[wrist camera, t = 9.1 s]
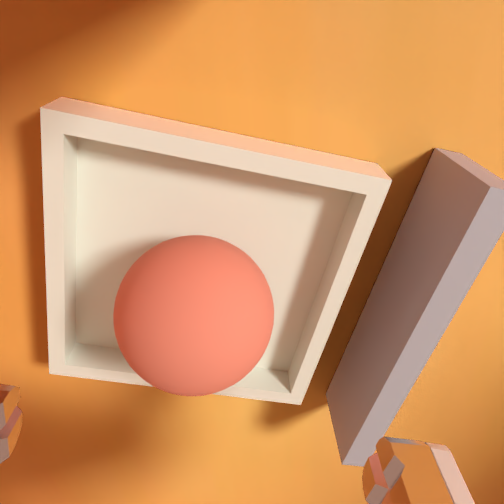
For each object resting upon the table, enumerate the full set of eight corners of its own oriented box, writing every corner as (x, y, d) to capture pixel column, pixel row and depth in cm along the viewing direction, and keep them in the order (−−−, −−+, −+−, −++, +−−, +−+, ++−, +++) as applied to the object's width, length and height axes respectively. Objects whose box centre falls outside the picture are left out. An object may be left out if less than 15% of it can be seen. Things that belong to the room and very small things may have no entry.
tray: (377, 163, 14) (392, 180, 13) (296, 375, 19) (300, 404, 18) (61, 96, 13) (39, 107, 11) (63, 344, 18) (48, 373, 16)
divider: (462, 153, 14) (525, 194, 11) (345, 396, 20) (365, 466, 17) (434, 147, 14) (490, 186, 11) (325, 394, 20) (341, 464, 17)
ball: (285, 224, 14) (301, 315, 10) (254, 332, 17) (255, 442, 13) (141, 196, 14) (92, 279, 10) (130, 311, 16) (87, 420, 12)
